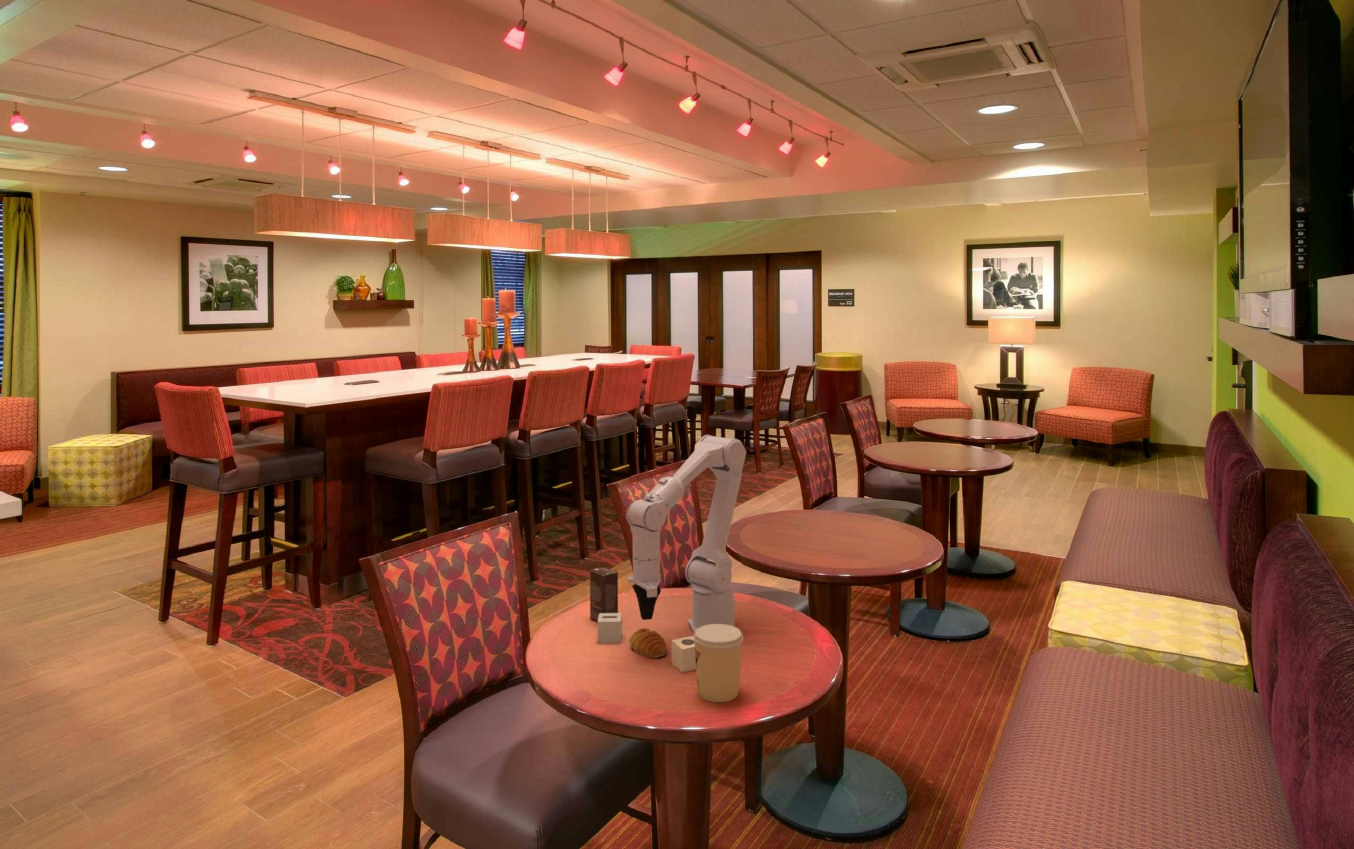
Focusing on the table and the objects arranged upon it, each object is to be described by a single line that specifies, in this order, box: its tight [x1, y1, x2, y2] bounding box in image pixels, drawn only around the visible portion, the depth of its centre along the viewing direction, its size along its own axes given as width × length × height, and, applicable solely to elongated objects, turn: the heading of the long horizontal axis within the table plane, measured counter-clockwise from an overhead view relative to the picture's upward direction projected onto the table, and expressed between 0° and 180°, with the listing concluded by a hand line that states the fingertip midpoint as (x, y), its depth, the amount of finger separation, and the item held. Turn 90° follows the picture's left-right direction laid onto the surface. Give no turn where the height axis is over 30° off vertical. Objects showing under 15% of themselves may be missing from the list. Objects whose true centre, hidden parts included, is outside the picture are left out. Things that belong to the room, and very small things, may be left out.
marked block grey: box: [597, 612, 623, 644], centre depth 177 cm, size 5×5×5 cm
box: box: [589, 566, 619, 623], centre depth 188 cm, size 6×4×12 cm
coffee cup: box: [693, 624, 744, 703], centre depth 151 cm, size 9×9×12 cm
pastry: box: [629, 627, 669, 659], centre depth 171 cm, size 9×7×4 cm
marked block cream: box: [671, 635, 696, 673], centre depth 164 cm, size 5×5×5 cm
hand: (646, 618), depth 170 cm, fingers closed
